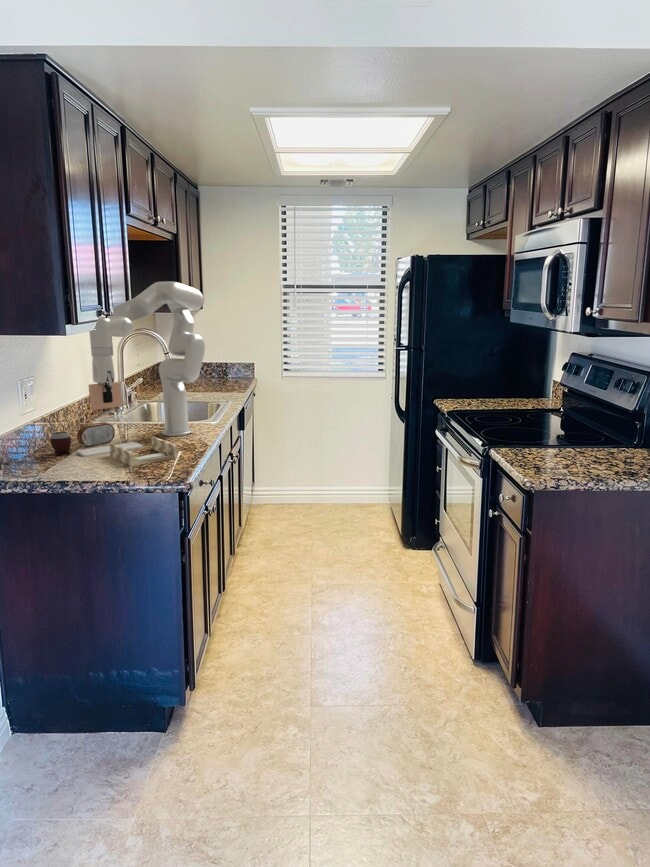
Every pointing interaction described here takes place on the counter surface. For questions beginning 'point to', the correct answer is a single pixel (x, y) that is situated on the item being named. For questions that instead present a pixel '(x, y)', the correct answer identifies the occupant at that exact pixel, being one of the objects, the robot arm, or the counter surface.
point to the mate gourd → (60, 441)
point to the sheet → (97, 396)
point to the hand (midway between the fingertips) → (106, 401)
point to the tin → (95, 434)
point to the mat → (107, 449)
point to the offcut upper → (149, 457)
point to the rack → (157, 445)
